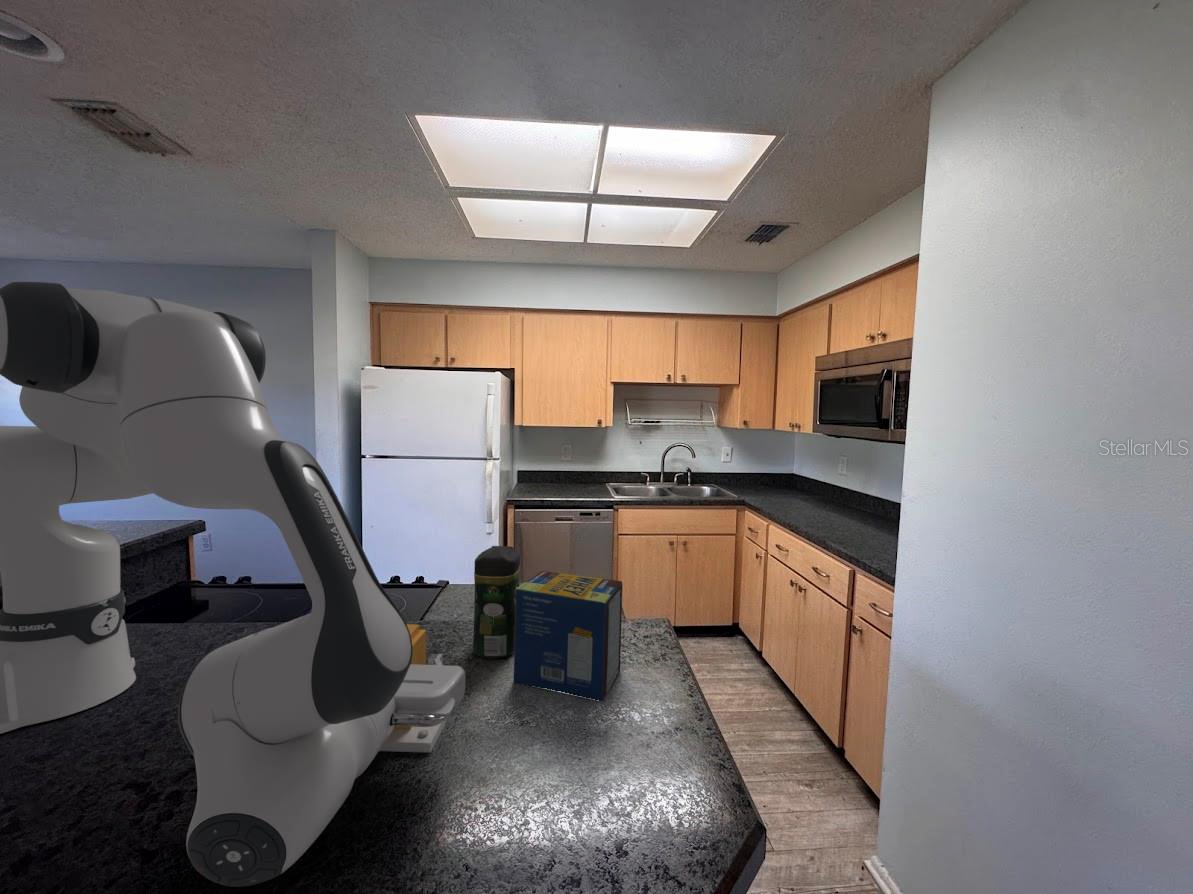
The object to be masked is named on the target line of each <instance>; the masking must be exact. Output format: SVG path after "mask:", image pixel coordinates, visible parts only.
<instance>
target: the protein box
mask: <svg viewBox="0 0 1193 894" xmlns="http://www.w3.org/2000/svg"><path fill="white" fill-rule="evenodd" d="M622 603H623V581H621V580H614V579H605V578H599V577H590V576H583V575H575V574H568V573H561V572H554V571H553V572H552V571H545V570H542V571H541V570H540V572H538V573H537V574H536V575H534V576H533V577H531V578H530V579H529V580H526V581H525V582H523V583H522V584H519V587H517V588H516V612H515V646H514V651H513V683H514V684H517V683H518V684H519V685H522V684H524V685H523V686H526V685H528V686H527V687H531V686H535V687H540V688H547V689H550V690H551V689H552V690H555V691H561V692H565V693H569V694H573V695H577V696H582V697H586V698H591V699H595V700H599V701H604V700H605V698H606V697H607V695H608V693H609V691H610V689H611V687H612V686H611V685H613V684H614V682H615V680H616V678H617V676H618V674H619V673H618V672H620V671H621V654H622V653H621V651H622V650H621V647H622V617H623V615H622V614H623V612H622V611H623V609H622V608H623V604H622ZM619 670H620V671H619ZM616 675H617V676H616ZM615 677H616V678H615ZM614 679H615V680H614ZM613 681H614V682H613ZM612 683H613V684H612ZM535 687H534V688H535ZM540 688H539V689H540ZM609 688H610V689H609ZM608 690H609V691H608ZM607 692H608V693H607ZM606 694H607V695H606ZM605 696H606V697H605ZM604 697H605V698H604ZM603 699H604V700H603Z"/></svg>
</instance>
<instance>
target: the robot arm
mask: <svg viewBox="0 0 1193 894" xmlns="http://www.w3.org/2000/svg"><path fill="white" fill-rule="evenodd" d="M266 355H267V354H266V348H265V345H264V341H263V339H262V337H261V335H260V334H259V332H258V331H257V330H256V328H255V327H254V326H253V325H252V324H251V323H249V322H247V321H245V320H243V319H241V318H239V317H235V316H233V315H231V314H228V313H225V312H221V311H214V312H211V311H208V310H205V309H203V308H198V307H194V306H191V305H190V306H189V305H188V304H182V303H178V302H174V301H169V300H165V299H160V298H155V297H151V296H145V297H143V296H138V295H133V294H132V295H131V294H125V293H120V292H116V291H111V290H104V289H87V288H86V289H84V288H74V287H73V288H72V287H65V286H64V285H63V284H61V283H56V282H48V281H47V282H45V281H42V282H41V281H12V282H10V283H7V284H6V285H4V286H2V287H0V376H2V377H3V378H4V379H6V380H7V381H9V382H10V383H12V384H14V385H16V386H20V387H21V389H20V392H19V396H18V397H19V398H18V399H19V405H20V408H21V409H20V410H21V411H22V412H23V414H24V416H25V417H26V418H27V420H29V421H30V422H31V423H32V424H33V426H32V425H31V426H29V425H0V579H1V588H2V589H1V590H2V608H1V609H0V734H4V733H7V732H10V731H14V730H17V729H20V728H22V727H26V726H27V727H28V726H32V725H34V724H39V723H43V722H48V721H52V720H56V719H59V718H60V719H61V718H63V717H67V716H70V715H73V714H76V713H79V712H82V711H85V710H88V709H90V708H93V707H96V706H99V704H102V703H105V702H107V701H108V700H110V699H112V698H114V697H116V696H118V695H120V694H121V693H123V692H125V691H126V690H127V689H129V688H130V687H131V686H132V685H134V683H135V681H136V680H137V675H136V672H135V670H134V668H135V666H136V660H135V658H134V657H132V656H131V652H130V647H129V646H130V644H129V640H128V639H129V638H128V633H127V626H126V622H125V620H124V619H123V616H124V615H125V613H126V606H125V604H126V597H125V591H124V590H123V589H122V588H121V547H120V544H119V541H117V539H116V538H115V537H114V536H113V535H112V534H110V533H109V532H106V531H104V530H100V529H96V528H94V527H89V526H85V525H81V524H76V523H71V522H68V521H65V520H63V518H62V516H61V513H60V507H61V506H64V505H68V504H69V505H71V504H81V503H94V502H106V501H116V500H117V501H118V500H128V499H134V498H139V497H143V496H148V495H152V494H154V495H155V496H157V497H159V498H161V499H162V500H164V501H168V502H169V503H173V504H175V505H179V506H182V507H188V508H194V509H203V510H204V509H206V510H250V511H251V510H252V511H255V512H258V513H260V514H262V515H264V516H266V517H268V519H270V520H271V521H272V522H273V523H274V524H275V526H277V528H278V529H279V530H280V533H281V535H282V537H283V539H284V541H285V543H286V546H287V549H288V550H289V552H290V554H291V557H292V559H293V561H294V563H295V565H296V568H297V571H298V572H299V574H300V576H301V578H302V581H303V584H304V585H305V588H306V590H307V591H308V594H309V596H310V598H311V603H312V605H311V606H312V607H311V611H310V613H308V614H306V615H302V616H299V617H298V618H294V619H291V620H290V621H289V620H288V621H286V622H284V623H281V624H279V625H276V626H274V627H269V628H266V629H263V630H260V631H258V632H255V633H253V634H252V633H251V634H250V635H246V636H245V637H242V638H239V639H237V640H235V641H231V642H230V643H227V644H225V645H222V646H219V647H216V648H214V649H212V650H211V651H209V652H207V653H206V654H205V655H204V656H203V657H202V658H201V659H199V661H198V662H197V663H196V665H195V666H194V667H193V668H192V670H191V672H190V673H189V674H188V677H187V679H186V680H185V683H184V685H183V687H182V689H181V692H180V695H179V700H178V705H177V723H178V728H179V731H180V733H181V736H182V739H183V740H184V742H185V744H186V746H187V748H188V750H189V751H190V753H191V755H192V757H193V758H194V764H195V771H196V772H195V773H196V782H197V784H196V785H197V794H196V803H195V808H194V811H193V815H192V817H191V821H190V824H189V826H188V829H187V833H186V843H185V845H186V852H187V856H188V857H187V858H188V859H189V861H190V862H191V864H192V866H193V867H194V869H195V870H196V871H197V872H198V873H199V874H200V875H202V876H203V877H204V878H205V879H207V880H209V881H211V882H214V883H216V884H219V885H222V886H226V887H232V888H239V887H242V888H243V887H249V886H253V885H258V884H261V883H264V882H267V881H270V880H272V879H274V878H276V877H278V876H280V875H281V874H283V873H285V872H286V871H287V870H288V869H289V868H290V867H292V866H293V865H294V864H295V863H296V862H297V861H298V860H299V859H300V858H301V857H302V856H303V855H304V854H305V853H306V851H307V850H308V849H309V848H311V846H312V845H313V844H314V842H315V841H316V840H317V838H319V836H320V835H321V834H322V832H323V831H324V830H325V829H326V828H327V826H328V825H329V824H330V822H331V821H332V819H334V817H335V815H336V814H337V812H338V811H339V809H340V808H341V807H342V805H343V804H344V802H345V801H346V799H347V798H348V797H349V794H350V792H351V790H352V789H353V785H354V783H355V780H356V779H358V778H359V776H361V775H362V774H363V773H364V772H365V771H366V770H367V768H368V767H369V766H370V764H372V762H373V760H374V759H375V757H376V756H377V754H378V753H379V752H380V751H379V750H380V748H381V747H382V745H383V744H384V742H385V741H386V740H387V738H388V737H389V735H390V734H391V732H392V730H393V728H394V726H409V727H432V726H436V725H439V724H441V723H442V722H444V721H446V720H447V721H448V720H449V719H450V718H452V715H453V713H454V712H455V710H456V708H457V707H458V706H459V704H460V703H461V701H462V700H463V697H464V695H465V693H466V672H465V670H464V669H463V667H462V666H461V665H460V666H459V665H446V664H445V665H444V654H443V653H431V654H430V656H429V657H428V659H427V664H426V665H416V664H411V661H412V655H413V647H412V640H411V635H410V632H409V629H408V627H407V624H408V623H406V620H405V619H404V617H403V615H402V613H401V612H400V611H399V609H398V607H397V606H396V604H395V603H394V601H393V600H392V599H391V597H390V596H389V595H388V593H387V592H386V591H385V589H384V587H383V585H381V583H380V581H379V580H378V577H377V575H376V574H375V571H374V569H373V567H372V566H371V563H370V562H369V559H368V557H367V554H366V553H365V551H364V549H363V547H362V544H361V542H360V540H359V538H358V537H357V535H356V533H355V530H354V529H353V526H352V524H351V522H350V520H349V518H348V516H347V514H346V512H345V510H344V508H343V506H342V504H341V502H340V500H339V498H338V496H337V493H336V491H335V490H334V488H333V486H332V484H331V483H330V481H329V479H328V476H326V474H325V472H324V470H323V468H322V467H321V465H320V463H319V462H318V461H317V460H316V457H314V456H313V455H312V454H311V453H310V451H308V450H307V449H306V448H305V447H304V446H303V445H300V444H298V443H295V442H292V441H286V440H285V439H284V438H282V436H281V435H280V433H278V431H277V430H276V428H275V426H274V424H273V422H272V419H271V418H270V414H269V411H268V406H267V403H266V399H265V397H264V394H263V390H262V388H261V384H260V383H261V381H262V379H263V378H264V377H263V376H264V373H265V369H266V364H267V363H266V362H267V361H266V360H267V357H266Z"/></svg>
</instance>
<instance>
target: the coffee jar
mask: <svg viewBox="0 0 1193 894" xmlns="http://www.w3.org/2000/svg"><path fill="white" fill-rule="evenodd" d="M520 566H521V554H520V553H519V551H518V550H517V549H516V548H515V547H513V546H512V545H511V546H510V545H509V546H508V545H492V546H491V547H489V548H488V549H485V550H484V551H481V552H480V553H479V554H478V555H477V557H476V558H475V559H474V569H473V570H474V571H473V574H474V575H473V576H474V577H473V578H474V604H473V605H474V608H473V610H474V613H473V614H474V615H473V636H472V638H473V639H472V652H473V654H474V655H475V656H478V657H481V658H484V659H488V660H495V659H496V660H497V659H500V658H505V657H509V656H511V655H512V654H514V646H515V612H516V588H517V587H519V586H520V575H521V573H520V572H521V567H520Z"/></svg>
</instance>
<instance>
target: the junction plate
mask: <svg viewBox="0 0 1193 894" xmlns="http://www.w3.org/2000/svg"><path fill="white" fill-rule="evenodd" d="M447 722H448V720H446V721H444V722H442V723H441V724H439V725H436V726H432V727H412V728H411V729H393V730H392V732H391V734H390V735H389V737H388V738H387V740H386V741H385V742H384V744H383V745H382V747H381V748H380V750H379V751H378V752H404V753H405V752H406V753H431V752H432V750H433V749H434V747H435V745H436V743H437V741H438V739H439V737H440V736H441V733H442V732H443V729H444V728H445V725H446V724H447Z"/></svg>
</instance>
